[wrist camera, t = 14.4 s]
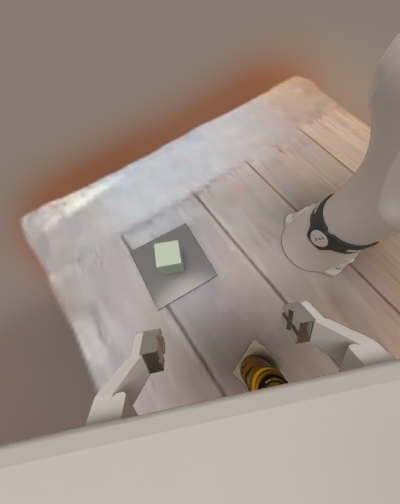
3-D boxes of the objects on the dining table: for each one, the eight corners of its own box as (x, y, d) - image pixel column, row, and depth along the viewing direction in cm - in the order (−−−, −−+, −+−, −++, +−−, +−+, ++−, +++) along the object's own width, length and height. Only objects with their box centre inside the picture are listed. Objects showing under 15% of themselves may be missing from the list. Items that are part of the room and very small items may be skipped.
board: (186, 224, 49) (185, 223, 48) (217, 275, 44) (217, 275, 43) (131, 253, 46) (129, 252, 45) (158, 309, 42) (157, 309, 41)
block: (181, 252, 45) (177, 240, 38) (184, 271, 44) (181, 262, 36) (161, 255, 45) (153, 244, 37) (164, 274, 43) (156, 267, 36)
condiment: (231, 373, 38) (245, 399, 27) (253, 338, 40) (275, 349, 29) (260, 399, 37) (288, 439, 25) (282, 361, 39) (316, 383, 27)
